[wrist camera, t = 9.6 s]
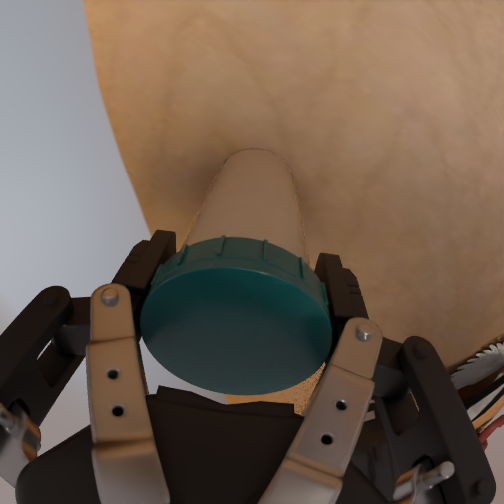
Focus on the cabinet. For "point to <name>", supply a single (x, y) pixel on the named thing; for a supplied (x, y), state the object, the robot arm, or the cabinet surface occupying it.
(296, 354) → the jam lid
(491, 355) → the bird
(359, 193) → the cabinet surface
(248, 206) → the beige cylinder
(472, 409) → the black emblem plate
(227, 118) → the cabinet surface
